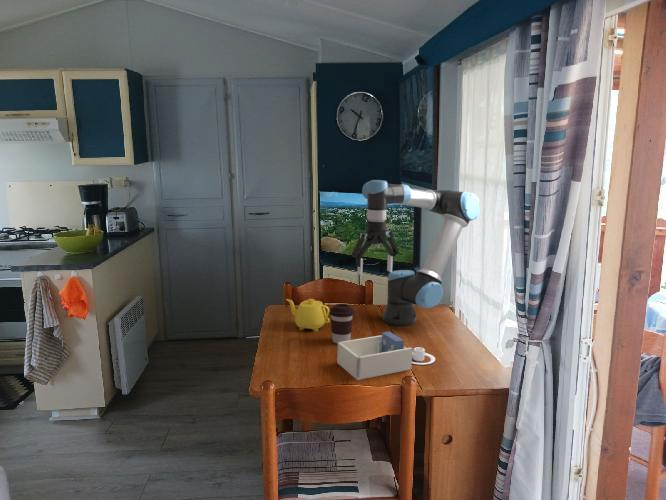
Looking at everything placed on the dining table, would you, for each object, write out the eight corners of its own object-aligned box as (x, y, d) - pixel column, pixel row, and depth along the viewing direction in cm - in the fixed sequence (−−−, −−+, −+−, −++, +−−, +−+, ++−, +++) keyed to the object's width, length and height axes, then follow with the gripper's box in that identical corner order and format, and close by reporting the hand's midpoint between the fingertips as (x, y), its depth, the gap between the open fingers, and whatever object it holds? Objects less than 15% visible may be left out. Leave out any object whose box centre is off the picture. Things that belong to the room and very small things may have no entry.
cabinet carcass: (388, 353, 212) (389, 333, 210) (411, 369, 197) (412, 348, 196) (337, 362, 202) (337, 342, 201) (357, 380, 188) (357, 358, 187)
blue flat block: (388, 353, 208) (389, 331, 206) (402, 363, 199) (403, 340, 197) (380, 355, 206) (381, 332, 205) (394, 365, 198) (395, 341, 196)
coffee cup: (351, 346, 218) (351, 310, 215) (326, 344, 220) (327, 308, 217) (355, 337, 228) (356, 303, 225) (331, 336, 229) (332, 301, 226)
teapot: (325, 334, 231) (325, 305, 228) (280, 329, 236) (280, 301, 233) (334, 324, 244) (334, 296, 241) (291, 319, 249) (291, 292, 246)
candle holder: (420, 351, 215) (420, 341, 214) (441, 362, 205) (442, 351, 204) (396, 357, 209) (396, 347, 208) (417, 368, 199) (418, 357, 198)
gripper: (398, 217, 223) (396, 268, 227) (343, 220, 212) (342, 273, 217) (408, 219, 216) (406, 272, 220) (352, 223, 206) (351, 278, 210)
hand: (374, 273), depth 219 cm, fingers open, 13 cm apart
